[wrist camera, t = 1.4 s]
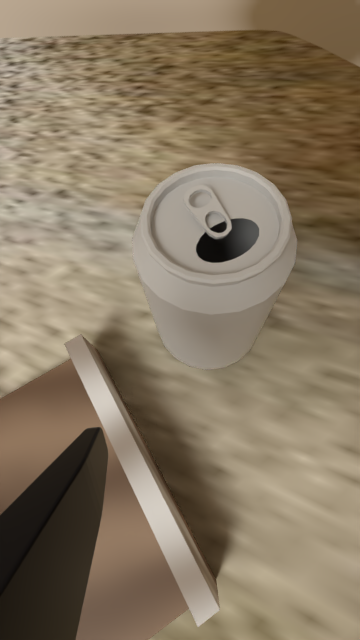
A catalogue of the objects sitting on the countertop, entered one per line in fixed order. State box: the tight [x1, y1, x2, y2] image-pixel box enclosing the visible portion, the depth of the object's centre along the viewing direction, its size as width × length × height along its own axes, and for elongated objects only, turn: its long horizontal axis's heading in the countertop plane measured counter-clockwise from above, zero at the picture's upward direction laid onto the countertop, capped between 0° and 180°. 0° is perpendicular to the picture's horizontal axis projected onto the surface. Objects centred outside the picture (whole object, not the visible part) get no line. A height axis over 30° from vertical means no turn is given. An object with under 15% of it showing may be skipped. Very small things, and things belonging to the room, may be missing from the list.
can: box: [132, 163, 297, 370], centre depth 18 cm, size 8×8×12 cm
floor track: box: [0, 335, 220, 640], centre depth 18 cm, size 16×12×4 cm
